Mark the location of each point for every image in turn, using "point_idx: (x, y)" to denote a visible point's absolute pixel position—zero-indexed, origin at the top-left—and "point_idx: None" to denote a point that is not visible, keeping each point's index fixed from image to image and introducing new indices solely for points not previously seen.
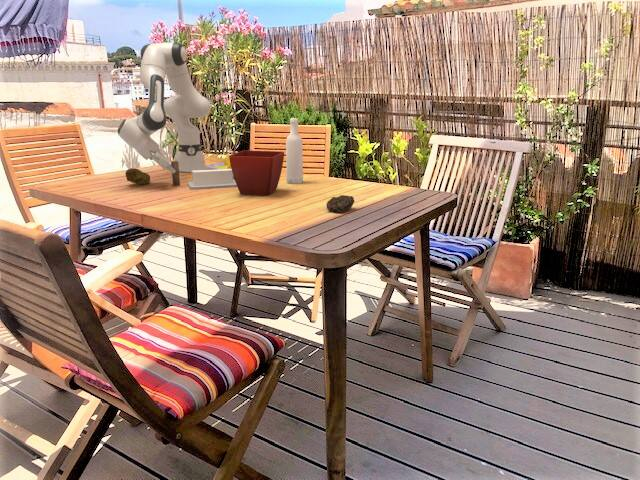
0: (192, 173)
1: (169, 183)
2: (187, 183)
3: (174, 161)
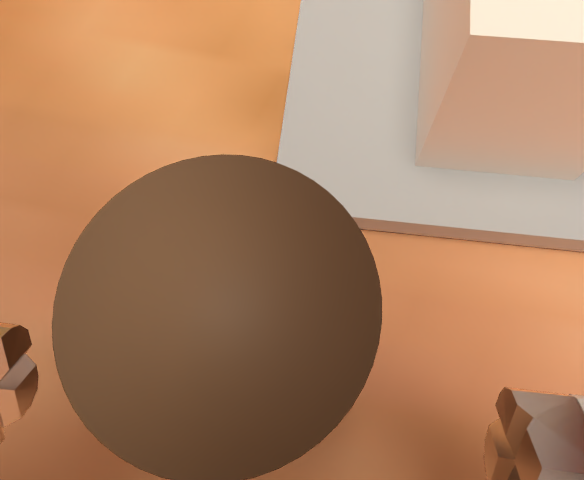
0: (557, 72)
1: (56, 437)
2: None
3: (147, 295)
